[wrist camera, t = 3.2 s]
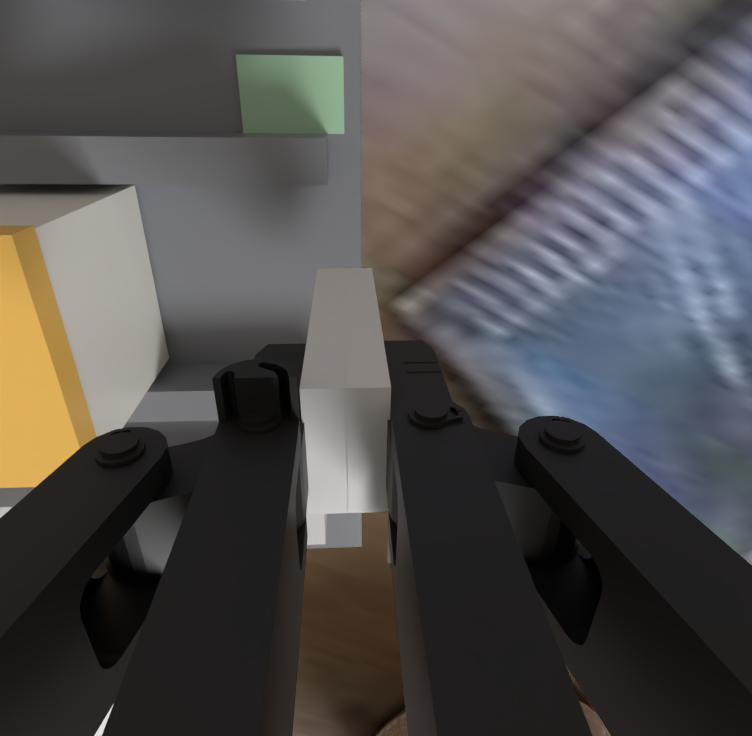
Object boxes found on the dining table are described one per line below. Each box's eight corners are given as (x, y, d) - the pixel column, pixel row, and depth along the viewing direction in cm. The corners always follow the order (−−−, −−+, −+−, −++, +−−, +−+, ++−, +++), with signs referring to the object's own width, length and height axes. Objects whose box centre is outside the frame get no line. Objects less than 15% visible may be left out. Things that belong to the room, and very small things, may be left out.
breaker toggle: (137, 181, 16) (11, 234, 10) (172, 360, 19) (91, 485, 13) (-4, 181, 16) (-222, 234, 10) (54, 362, 19) (-85, 490, 13)
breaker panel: (357, -210, 14) (363, -360, 10) (359, 501, 26) (363, 590, 22) (-337, -240, 13) (-717, -427, 9) (-3, 512, 26) (-82, 607, 21)
